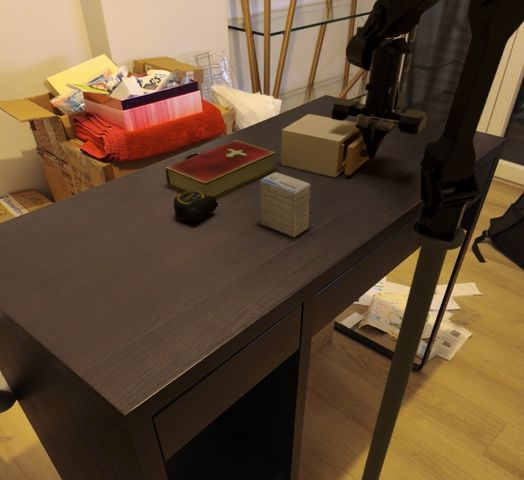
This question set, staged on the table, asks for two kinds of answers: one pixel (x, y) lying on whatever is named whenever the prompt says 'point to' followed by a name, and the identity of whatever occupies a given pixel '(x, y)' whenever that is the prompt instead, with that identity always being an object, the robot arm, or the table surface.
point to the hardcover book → (221, 169)
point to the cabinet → (315, 144)
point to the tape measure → (193, 205)
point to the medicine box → (284, 203)
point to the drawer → (352, 153)
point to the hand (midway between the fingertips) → (371, 158)
